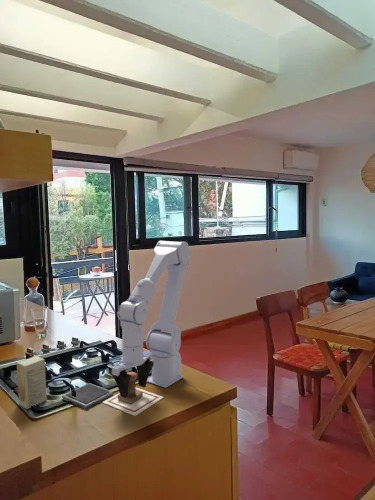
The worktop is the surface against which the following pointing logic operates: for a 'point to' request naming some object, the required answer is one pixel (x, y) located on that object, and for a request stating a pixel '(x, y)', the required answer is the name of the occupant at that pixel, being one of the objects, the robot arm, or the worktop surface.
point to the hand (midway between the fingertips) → (133, 391)
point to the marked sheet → (137, 406)
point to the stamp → (132, 390)
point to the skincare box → (31, 381)
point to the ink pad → (88, 395)
